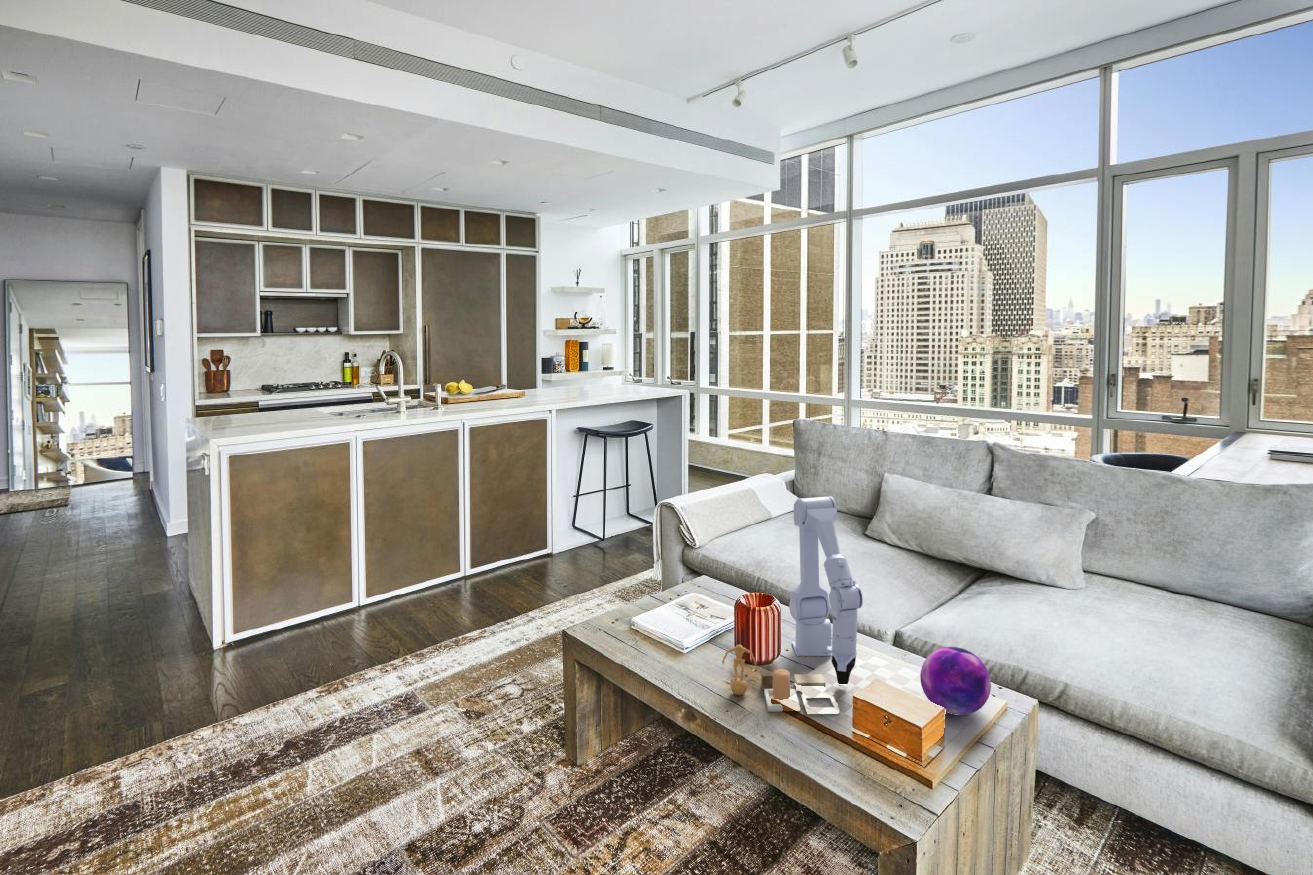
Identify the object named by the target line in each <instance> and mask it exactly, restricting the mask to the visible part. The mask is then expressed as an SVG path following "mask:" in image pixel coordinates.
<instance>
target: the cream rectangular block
mask: <svg viewBox="0 0 1313 875" xmlns="http://www.w3.org/2000/svg"><path fill="white" fill-rule="evenodd" d="M793 678H794V679H793V684H794V683H796V684H797V685H801V686H824V687H825V686H826V685H827V684H826V683H827V681H826V680H825V678H824V675H823V674H821V673H820V674H817V673H816V674H814V673H813V674H808V673H807V674H803V673H802V674H799V673H798V674H793Z"/></svg>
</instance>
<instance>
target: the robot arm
mask: <svg viewBox="0 0 1313 875" xmlns="http://www.w3.org/2000/svg"><path fill="white" fill-rule="evenodd" d="M837 516H838V505H837V502H836V500H835V498H834V497H833V496H831V495H827V496H819V497H818V496H817V497H807V498H806V497H804V498H802V497H798V498H797V499H796V500H795V502H794V504H793V524H794V526H796V527H798V530H799V532H798V534H799V565H800V570H799V571H800V584H798V585H797V586H796V587H795V588H793V589H792V590H791V591H790V600H789V602H788V606H789V607H788V608H789V613H790V616H791V618H792V619H793V620H795V640H793V641H791V644H792V646H793V651H794V652H795V656H797V657H822V656H823V657H829V656H830V657H831V665H832V666H833V669H834V670H835V674H836V681H837V684H838V683H839V684H848V685H849V681H850V677H851V676H850V675H851V673H852V670H853V669H854V667H855V666H856V659H857V655H858V651H857V650H858V649H857V635H858V634H857V633H858V629H857V628H858V609H861V608H862V606H863V603H864V598H863V593H862V589H861V588H860V587H859V585H858V584H857V581H856V580H853V576H852V574H851V570H850V566H849V563H848V559H847V558H846V557H844V556H843V555H841V552H840V547H839V543H838V542H839V541H838V537H837V533H836V532H837V531H836V527H835V522H836V520H837ZM819 543H820V545H821V548H822V550H823V552H824V555H825V558H826V559H825V561H824V562H823V567H824V570H825V574H826V577H827V582H828V585H829V587H830V591H829V592H828V591H827V589H825V588H824V587H822V586H821V585H820V568H819V567H820V563H819V562H820V560H819V555H820V554H819ZM830 614H831V615H832V623H831V620H830V619H829V618H828V617H829V615H830Z"/></svg>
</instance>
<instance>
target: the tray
mask: <svg viewBox="0 0 1313 875" xmlns="http://www.w3.org/2000/svg"><path fill="white" fill-rule="evenodd" d="M763 695H764V700H765V704H766V708H767V712H768V713H769V712H770V713H772V712H773V713H782V711H783V708H782V707H783V706H782V705H781V704H772V703H771V698H772V697H773V689H764V691H763Z"/></svg>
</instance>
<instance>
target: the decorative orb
mask: <svg viewBox="0 0 1313 875" xmlns="http://www.w3.org/2000/svg"><path fill="white" fill-rule="evenodd" d="M990 676H991V675H990V673H989V671H988V668H987V667H986V664H984V662H983V661H982V660H981V659H980V658H979V657H978V656H977V655H976V654H974V653H973V652H971V651H969V650H967V649H965V648H962V647H957V646H946V647H941V648H938V649H936V650H934V651H932V652H931V653H930V654H929V655H928V656H927V657H926V659H925V660H924V661H923V664H922V666H921V670H920V684H921V688H922V690H923V693H924V695H925V697H926V698H927V699H928V700H930V701H931V702H933V703H935V704H937V705H940V706H942V707H944V708H945V709H946V712H949V713H952V714H959V715H958V716H967V715H966V714H968V715H971V714H974V713H976V712H977V711H980V709H982V707H984V705H985V704H986V703H987V702H988V699H990V698H989V697H990V694H991V690H992V683H991V682H992V681H991V677H990ZM930 701H929V702H930ZM931 702H930V703H931ZM946 712H945V713H946ZM952 714H951V715H952Z"/></svg>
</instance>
